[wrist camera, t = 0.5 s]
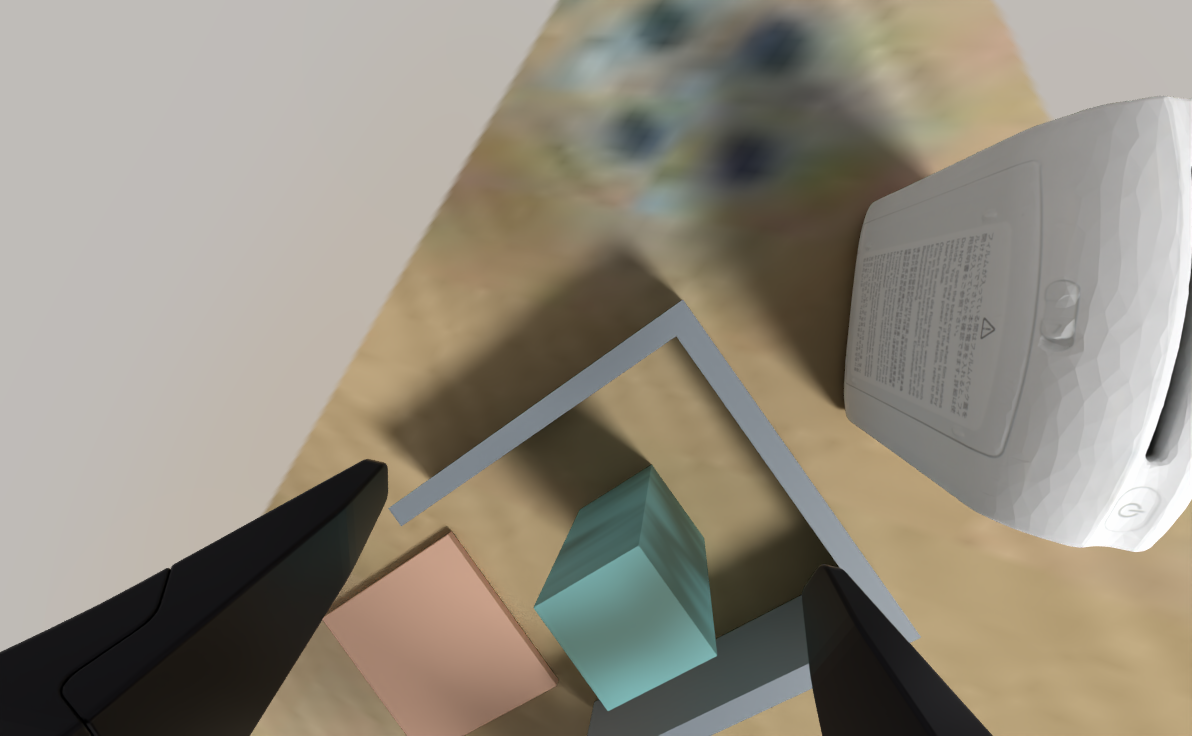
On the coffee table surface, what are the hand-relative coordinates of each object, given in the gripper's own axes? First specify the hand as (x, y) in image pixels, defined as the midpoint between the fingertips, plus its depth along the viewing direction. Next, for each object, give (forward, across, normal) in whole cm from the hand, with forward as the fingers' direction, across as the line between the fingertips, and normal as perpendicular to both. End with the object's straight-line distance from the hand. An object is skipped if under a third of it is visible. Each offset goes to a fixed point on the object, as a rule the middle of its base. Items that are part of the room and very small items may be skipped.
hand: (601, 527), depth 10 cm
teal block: (+10, -3, +11) cm, 15 cm away
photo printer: (+14, -12, -2) cm, 18 cm away
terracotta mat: (+8, +6, +21) cm, 23 cm away
